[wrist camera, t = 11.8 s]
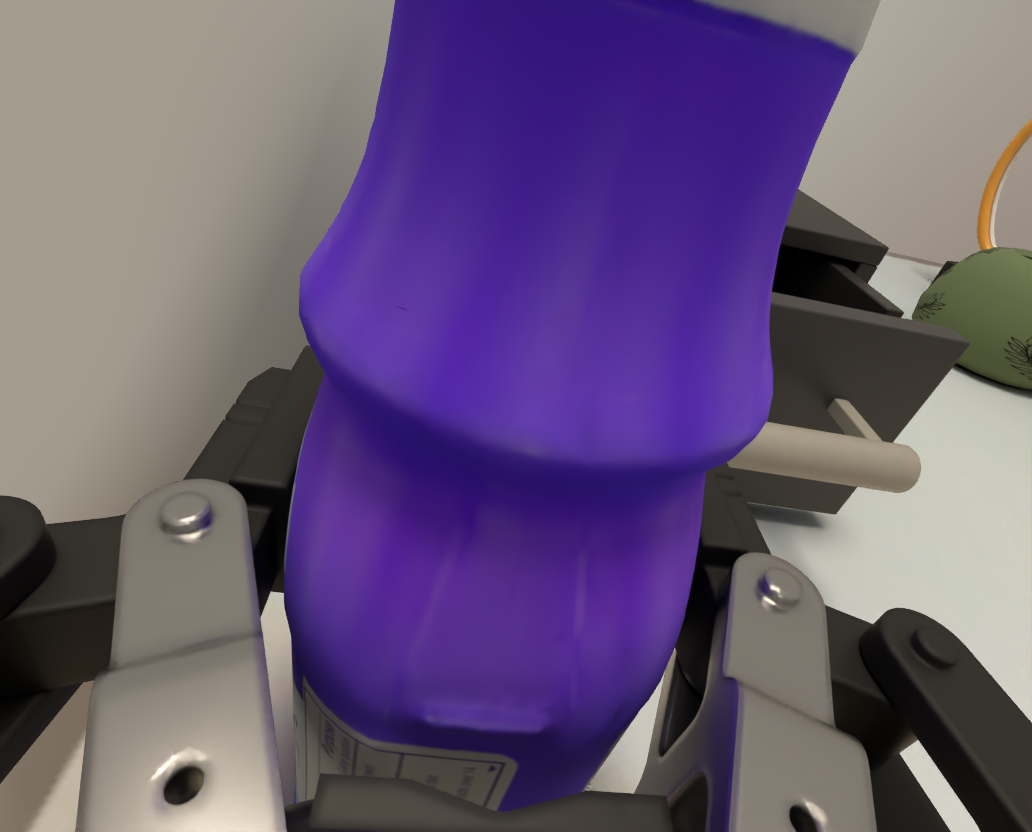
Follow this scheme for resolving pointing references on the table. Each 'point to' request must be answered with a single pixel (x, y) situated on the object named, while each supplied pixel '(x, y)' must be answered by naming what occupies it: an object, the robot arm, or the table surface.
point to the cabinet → (831, 237)
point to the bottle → (537, 373)
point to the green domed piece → (987, 312)
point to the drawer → (839, 388)
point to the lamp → (995, 192)
